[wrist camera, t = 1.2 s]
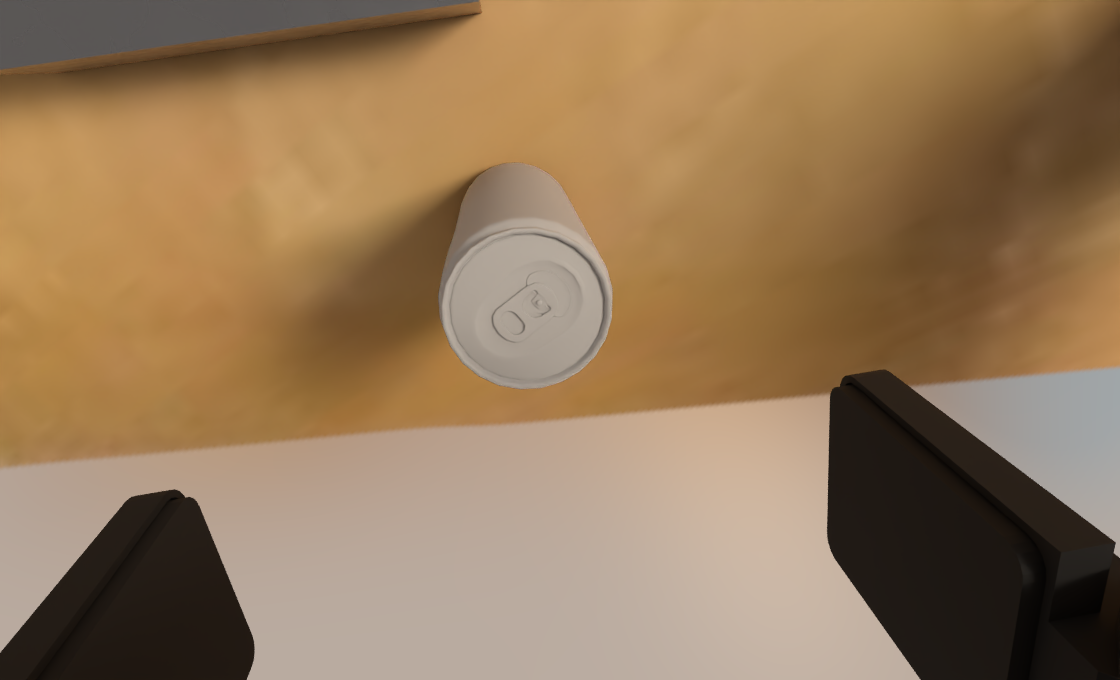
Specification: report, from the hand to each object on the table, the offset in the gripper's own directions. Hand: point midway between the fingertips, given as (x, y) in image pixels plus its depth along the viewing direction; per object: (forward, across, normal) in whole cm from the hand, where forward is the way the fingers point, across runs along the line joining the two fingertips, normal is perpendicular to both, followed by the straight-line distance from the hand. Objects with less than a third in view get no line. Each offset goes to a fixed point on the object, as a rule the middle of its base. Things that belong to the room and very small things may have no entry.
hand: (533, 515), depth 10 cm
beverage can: (+21, -1, 0) cm, 21 cm away
